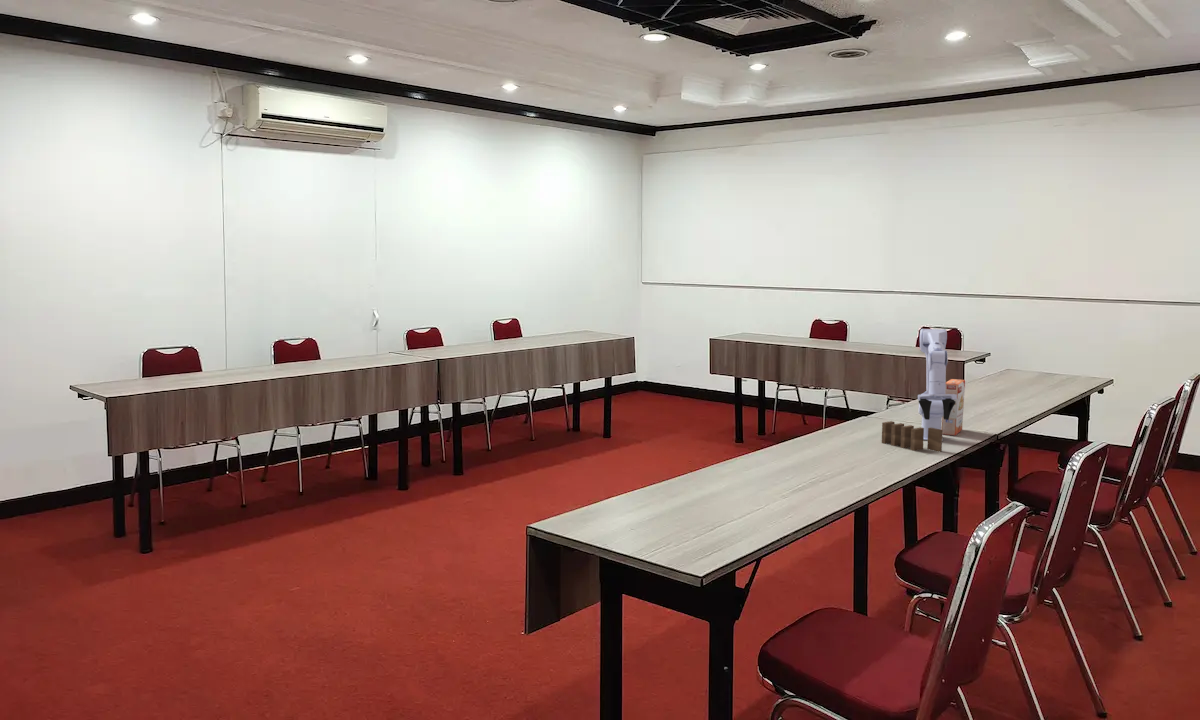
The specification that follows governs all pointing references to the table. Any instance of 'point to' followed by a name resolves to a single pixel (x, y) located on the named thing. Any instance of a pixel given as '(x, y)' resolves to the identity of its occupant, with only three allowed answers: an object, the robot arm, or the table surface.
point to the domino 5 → (934, 439)
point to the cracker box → (954, 407)
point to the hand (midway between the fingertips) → (936, 419)
